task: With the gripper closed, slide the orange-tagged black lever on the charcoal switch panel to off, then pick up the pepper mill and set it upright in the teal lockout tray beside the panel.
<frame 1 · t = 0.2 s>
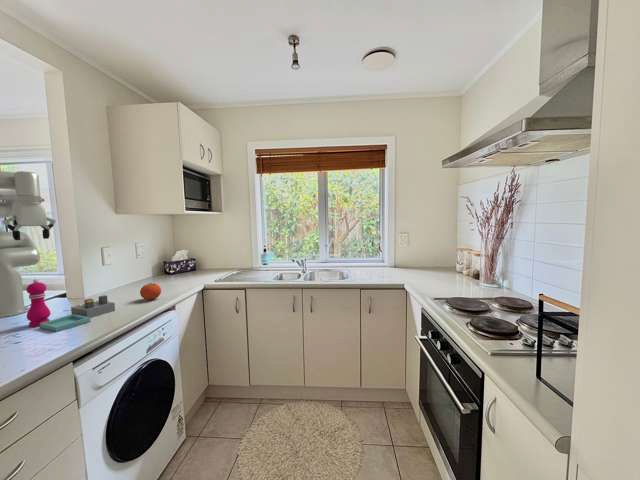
hand: (32, 239, 123), 37 cm above the worktop, tool pointing down, fingers open, 9 cm apart
lockout tray: (65, 324, 120), on the worktop
breaker panel: (93, 313, 135), on the worktop
pepper mill: (39, 325, 120), on the worktop
tomato: (151, 299, 157), on the worktop
tagged breaker: (89, 303, 131), point 6 cm above the worktop, slide at 0.0 cm
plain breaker: (103, 299, 136), point 6 cm above the worktop, slide at 0.0 cm
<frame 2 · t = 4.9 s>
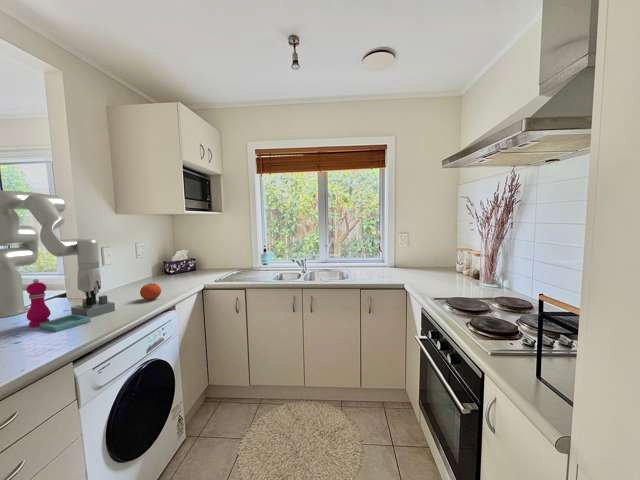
hand: (91, 304, 130), 5 cm above the worktop, tool pointing down, fingers closed
tagged breaker: (87, 302, 131), point 6 cm above the worktop, slide at 1.4 cm, touching gripper
everything else where it was.
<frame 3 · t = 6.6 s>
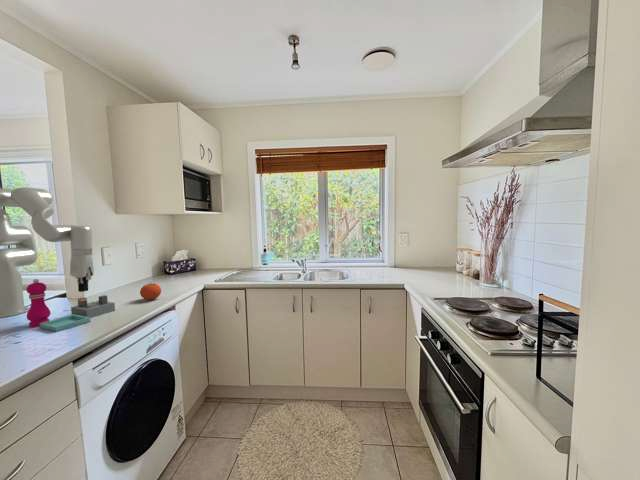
hand: (83, 290, 131), 12 cm above the worktop, tool pointing down, fingers closed
tagged breaker: (82, 302, 132), point 6 cm above the worktop, slide at 5.1 cm
everything else where it was.
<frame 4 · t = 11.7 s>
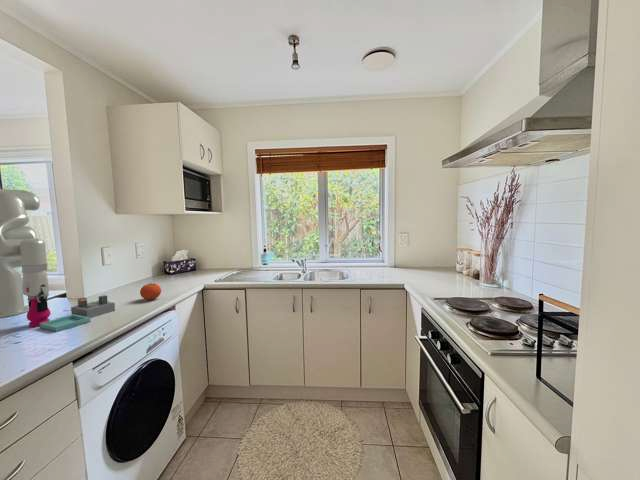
hand: (38, 309, 119), 7 cm above the worktop, tool pointing down, fingers closed on pepper mill, 5 cm apart
pepper mill: (39, 325, 120), on the worktop, touching gripper
everything else where it was.
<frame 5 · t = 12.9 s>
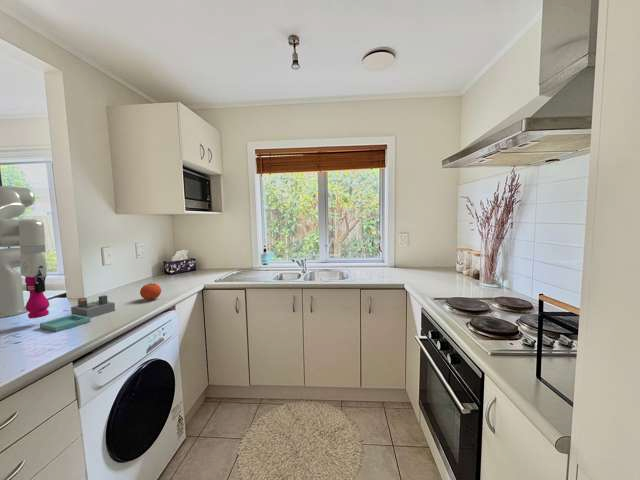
hand: (35, 290, 119), 15 cm above the worktop, tool pointing down, fingers closed on pepper mill, 5 cm apart
pepper mill: (38, 316, 120), point 4 cm above the worktop, touching gripper
everything else where it was.
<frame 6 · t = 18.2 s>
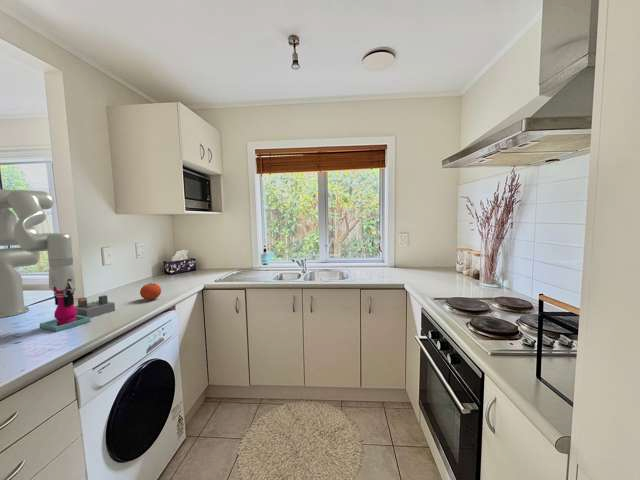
hand: (64, 304, 119), 9 cm above the worktop, tool pointing down, fingers open, 5 cm apart
pepper mill: (67, 324, 119), resting on lockout tray
everything else where it was.
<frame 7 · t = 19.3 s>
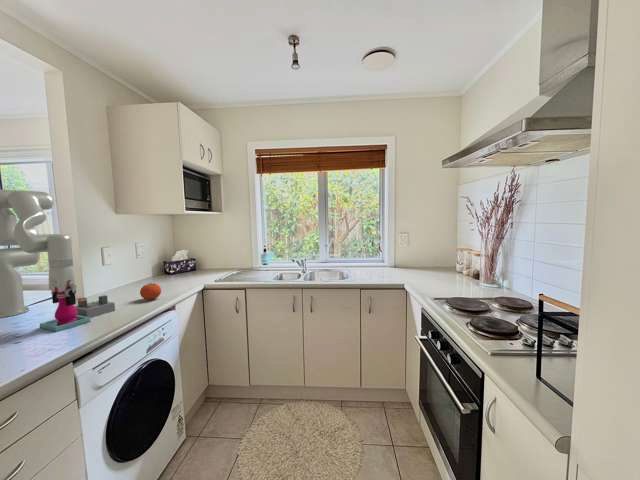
hand: (64, 303, 119), 9 cm above the worktop, tool pointing down, fingers open, 9 cm apart
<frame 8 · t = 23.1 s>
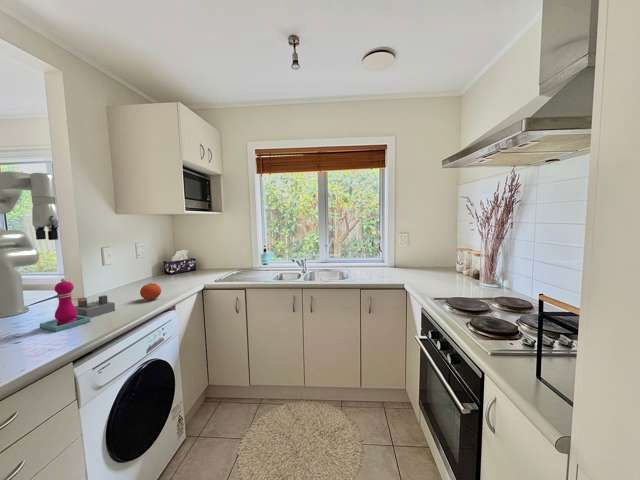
hand: (47, 239, 126), 36 cm above the worktop, tool pointing down, fingers open, 9 cm apart
nothing on the worktop moved.
at the end: tagged breaker slide at 5.1 cm; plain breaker slide at 0.0 cm; pepper mill 1.1 cm off-centre on the lockout tray, point 0.3 cm above the lockout tray's base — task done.
